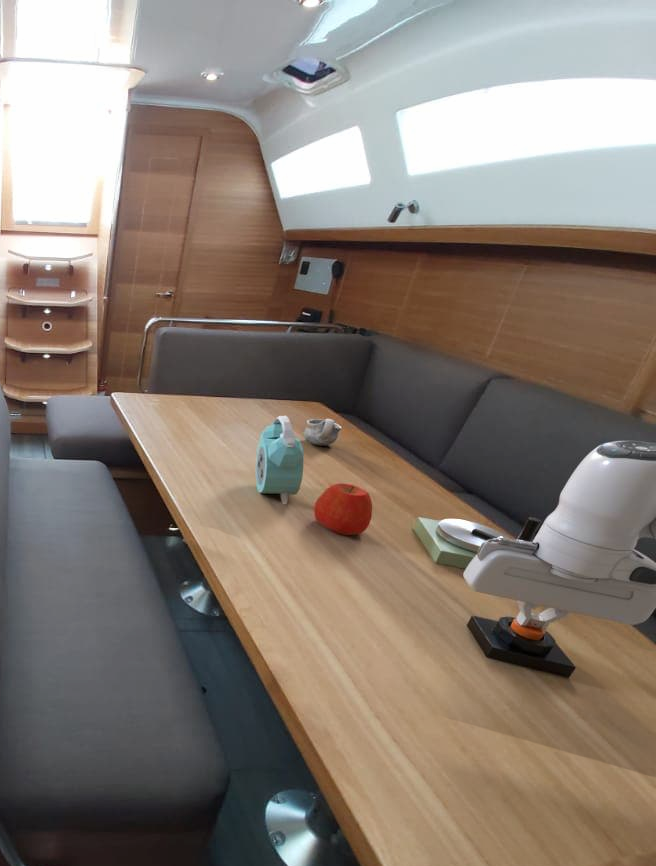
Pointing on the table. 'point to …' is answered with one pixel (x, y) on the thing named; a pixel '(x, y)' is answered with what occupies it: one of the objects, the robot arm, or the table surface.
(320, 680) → the table surface
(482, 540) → the wheel
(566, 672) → the button box
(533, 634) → the button
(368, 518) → the apple
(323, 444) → the grey spouted pot
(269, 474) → the alarm clock
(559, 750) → the table surface
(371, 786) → the table surface
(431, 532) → the dial plate
